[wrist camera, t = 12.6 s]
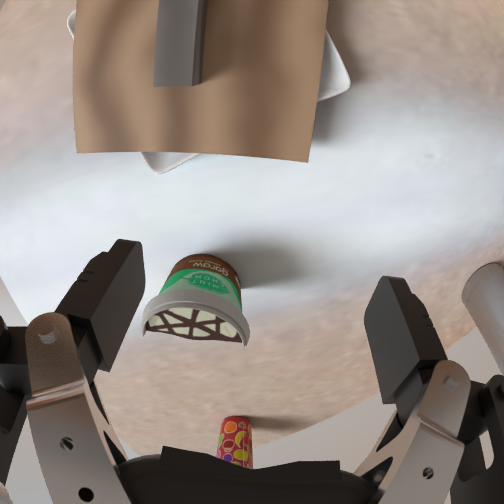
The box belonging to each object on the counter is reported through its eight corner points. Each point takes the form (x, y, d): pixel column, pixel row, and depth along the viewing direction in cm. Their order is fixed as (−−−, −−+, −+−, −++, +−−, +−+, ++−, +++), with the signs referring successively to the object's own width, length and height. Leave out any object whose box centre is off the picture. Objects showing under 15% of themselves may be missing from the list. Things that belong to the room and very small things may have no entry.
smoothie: (246, 429, 66) (243, 503, 50) (213, 423, 65) (206, 499, 48) (260, 417, 62) (259, 499, 45) (225, 410, 60) (218, 494, 44)
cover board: (331, -60, 15) (344, -79, 11) (306, 160, 28) (315, 177, 24) (89, -50, 14) (65, -62, 10) (80, 151, 27) (56, 166, 23)
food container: (257, 251, 37) (256, 311, 29) (251, 290, 41) (248, 350, 32) (156, 240, 37) (130, 295, 28) (159, 279, 40) (138, 335, 32)
